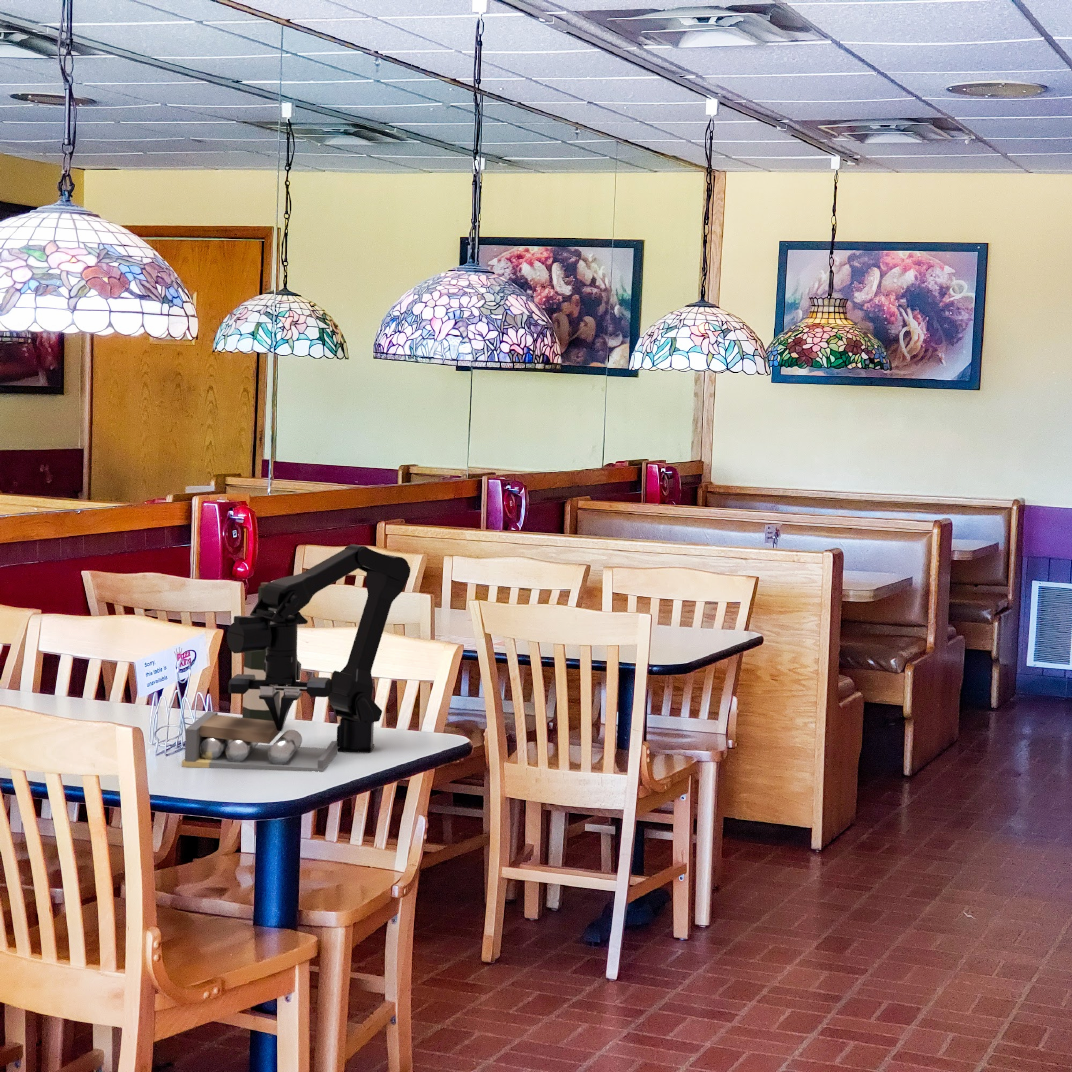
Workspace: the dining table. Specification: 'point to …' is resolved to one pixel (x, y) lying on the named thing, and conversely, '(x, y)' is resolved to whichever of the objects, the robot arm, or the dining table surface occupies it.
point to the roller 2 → (239, 750)
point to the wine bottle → (255, 666)
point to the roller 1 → (213, 747)
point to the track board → (255, 754)
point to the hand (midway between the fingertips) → (279, 730)
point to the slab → (239, 729)
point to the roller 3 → (285, 747)
